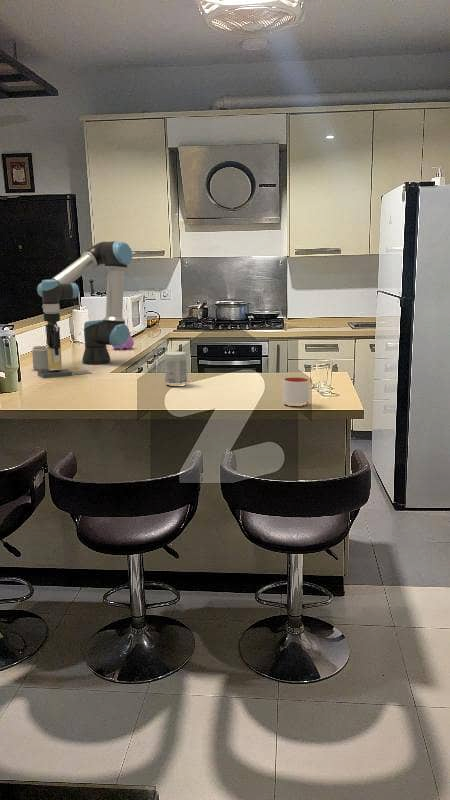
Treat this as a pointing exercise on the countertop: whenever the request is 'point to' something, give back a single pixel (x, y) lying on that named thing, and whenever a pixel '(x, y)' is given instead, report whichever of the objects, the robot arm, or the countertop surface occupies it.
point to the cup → (295, 390)
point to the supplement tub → (175, 367)
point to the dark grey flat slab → (54, 373)
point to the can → (40, 358)
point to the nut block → (51, 360)
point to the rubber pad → (81, 372)
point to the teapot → (126, 343)
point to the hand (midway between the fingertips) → (54, 360)
